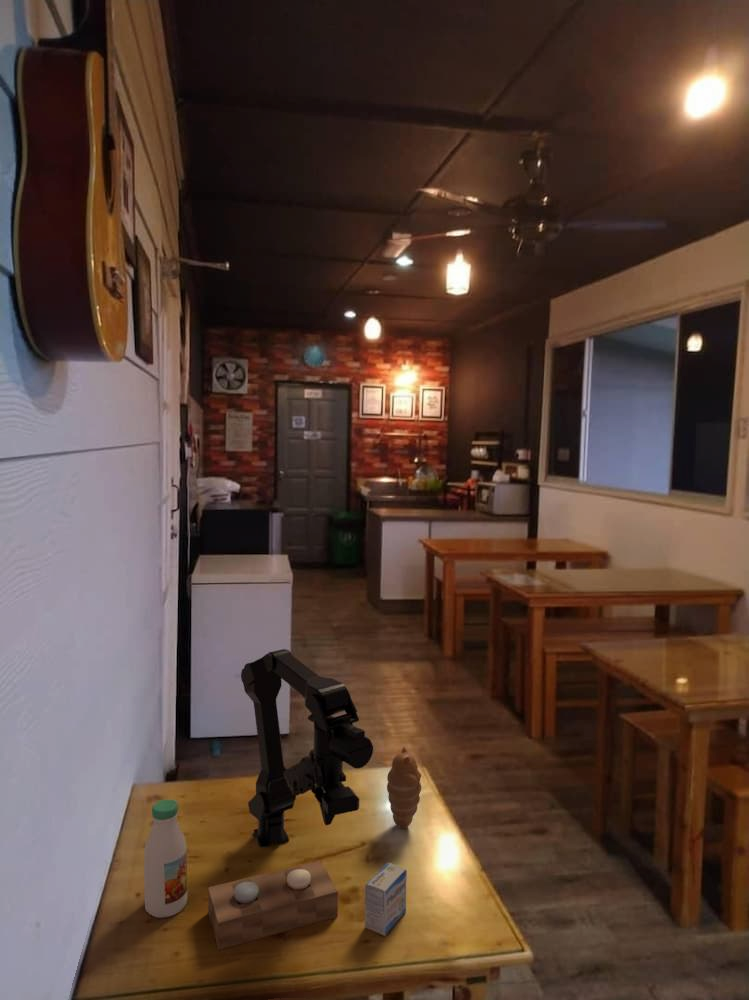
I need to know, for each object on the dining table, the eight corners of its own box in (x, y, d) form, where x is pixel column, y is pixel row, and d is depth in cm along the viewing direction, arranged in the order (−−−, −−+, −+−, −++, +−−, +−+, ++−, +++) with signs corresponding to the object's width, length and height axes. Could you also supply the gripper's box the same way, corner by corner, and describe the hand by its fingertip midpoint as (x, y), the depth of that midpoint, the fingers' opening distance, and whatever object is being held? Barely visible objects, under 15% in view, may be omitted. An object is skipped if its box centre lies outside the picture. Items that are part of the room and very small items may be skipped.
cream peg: (284, 899, 132) (284, 872, 131) (306, 893, 134) (306, 866, 133) (290, 914, 128) (290, 886, 127) (313, 908, 130) (313, 880, 129)
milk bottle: (148, 924, 126) (146, 820, 124) (141, 898, 132) (139, 799, 130) (191, 911, 129) (190, 810, 127) (182, 887, 136) (181, 790, 134)
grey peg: (231, 913, 128) (231, 885, 127) (255, 906, 130) (255, 879, 129) (236, 928, 124) (236, 900, 123) (260, 922, 126) (260, 894, 125)
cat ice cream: (423, 836, 154) (425, 759, 152) (389, 839, 153) (390, 761, 151) (415, 814, 163) (417, 741, 161) (383, 816, 162) (384, 743, 160)
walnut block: (208, 912, 129) (208, 887, 128) (320, 883, 138) (320, 860, 137) (218, 949, 120) (218, 923, 119) (337, 916, 129) (337, 891, 128)
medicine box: (384, 937, 124) (385, 892, 123) (363, 927, 126) (364, 883, 125) (406, 912, 130) (407, 868, 129) (386, 903, 133) (387, 860, 132)
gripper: (275, 734, 140) (274, 808, 141) (302, 778, 122) (302, 860, 124) (327, 726, 144) (326, 797, 146) (361, 767, 127) (359, 847, 128)
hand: (327, 823), depth 136 cm, fingers closed
